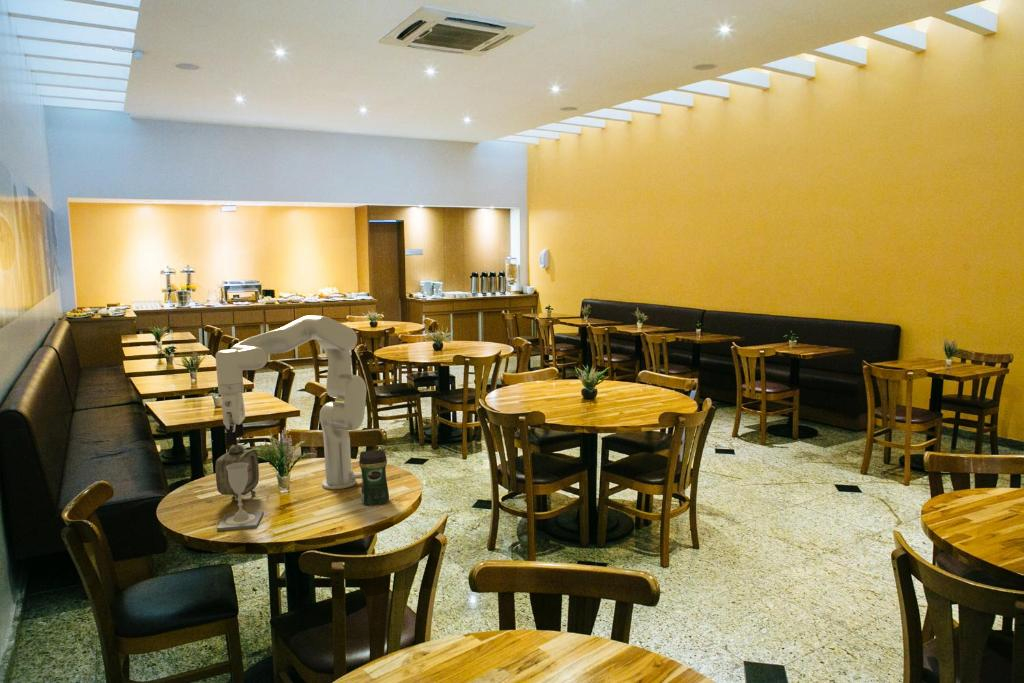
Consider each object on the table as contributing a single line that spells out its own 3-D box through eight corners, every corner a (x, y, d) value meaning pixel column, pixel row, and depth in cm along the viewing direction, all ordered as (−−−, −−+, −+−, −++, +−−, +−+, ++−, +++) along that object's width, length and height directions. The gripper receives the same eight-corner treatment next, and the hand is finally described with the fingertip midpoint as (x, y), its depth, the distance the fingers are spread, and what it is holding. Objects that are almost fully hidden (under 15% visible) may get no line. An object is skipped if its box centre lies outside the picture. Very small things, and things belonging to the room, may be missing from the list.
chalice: (234, 514, 227) (230, 462, 224) (255, 513, 227) (251, 461, 225) (226, 523, 220) (222, 469, 217) (248, 522, 220) (244, 468, 218)
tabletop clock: (241, 508, 236) (236, 438, 232) (216, 508, 236) (210, 438, 233) (260, 493, 250) (255, 427, 247) (236, 493, 251) (231, 427, 247)
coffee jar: (387, 496, 244) (385, 446, 242) (390, 504, 237) (387, 452, 234) (360, 499, 242) (357, 449, 239) (361, 507, 234) (359, 455, 232)
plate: (263, 513, 230) (263, 510, 230) (256, 527, 219) (256, 524, 218) (226, 516, 228) (225, 513, 228) (216, 531, 217) (216, 527, 216)
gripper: (237, 393, 210) (241, 447, 212) (248, 382, 227) (252, 432, 229) (211, 394, 208) (216, 448, 211) (225, 383, 225) (229, 434, 228)
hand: (235, 440), depth 220 cm, fingers open, 9 cm apart
